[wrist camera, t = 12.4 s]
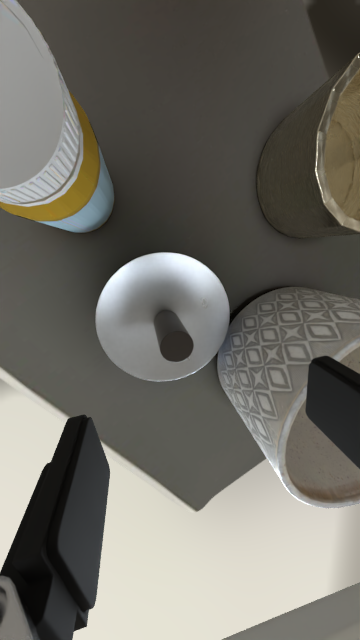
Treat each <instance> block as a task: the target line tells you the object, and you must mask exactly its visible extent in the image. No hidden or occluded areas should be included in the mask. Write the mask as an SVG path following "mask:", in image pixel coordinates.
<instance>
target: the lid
mask: <svg viewBox="0 0 360 640" xmlns="http://www.w3.org/2000/svg"><path fill="white" fill-rule="evenodd" d="M229 320H230V308H229V301H228V298H227V294H226V292H225V289H224V287H223V285H222V283H221V282H220V280H219V279H218V277H217V276H216V275H215V274H214V272H212V271H211V270H210V269H209V268H208V267H207V266H206V265H204V264H203V263H201V262H200V261H198V260H196V259H194V258H192V257H189V256H186V255H183V254H179V253H174V252H157V253H151V254H146V255H143V256H140V257H138V258H135V259H133V260H132V261H130V262H128V263H126V264H125V265H124V266H122V267H121V268H120V269H118V270H117V271H116V272H115V273H114V274H113V275H112V277H111V278H110V279H109V280H108V282H107V283H106V285H105V286H104V288H103V290H102V292H101V294H100V297H99V300H98V303H97V307H96V316H95V322H96V331H97V335H98V338H99V341H100V344H101V346H102V348H103V349H104V351H105V353H106V354H107V355H108V357H109V358H110V359H111V360H112V361H113V362H114V363H115V364H116V365H117V366H118V367H119V368H121V369H122V370H123V371H125V372H127V373H129V374H131V375H133V376H135V377H138V378H141V379H145V380H150V381H170V380H175V379H179V378H183V377H185V376H188V375H190V374H192V373H194V372H196V371H197V370H199V369H200V368H202V367H203V366H205V365H206V364H207V363H208V362H209V361H210V360H211V359H212V358H213V357H214V356H215V355H216V353H217V352H218V350H219V349H220V347H221V345H222V344H223V342H224V340H225V337H226V334H227V331H228V327H229Z"/></svg>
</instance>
